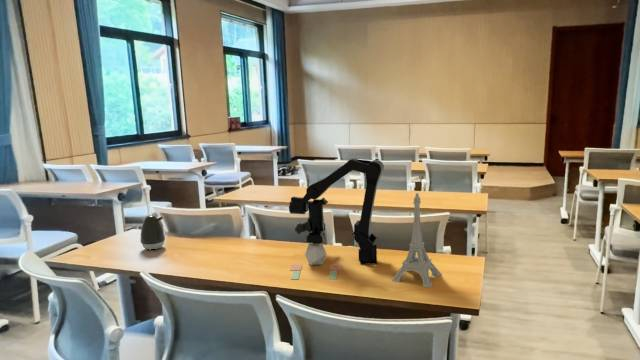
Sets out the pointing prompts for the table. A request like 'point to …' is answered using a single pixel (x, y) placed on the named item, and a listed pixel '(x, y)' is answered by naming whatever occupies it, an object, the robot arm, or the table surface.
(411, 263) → the eiffel tower
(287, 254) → the table surface
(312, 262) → the die
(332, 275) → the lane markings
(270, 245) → the table surface
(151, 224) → the pump dispenser
